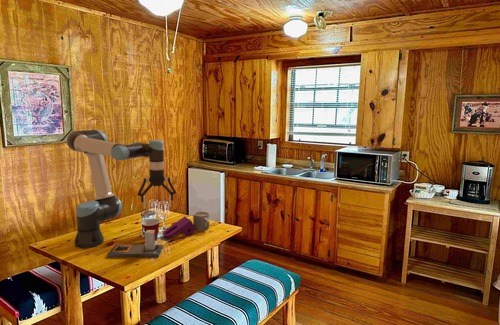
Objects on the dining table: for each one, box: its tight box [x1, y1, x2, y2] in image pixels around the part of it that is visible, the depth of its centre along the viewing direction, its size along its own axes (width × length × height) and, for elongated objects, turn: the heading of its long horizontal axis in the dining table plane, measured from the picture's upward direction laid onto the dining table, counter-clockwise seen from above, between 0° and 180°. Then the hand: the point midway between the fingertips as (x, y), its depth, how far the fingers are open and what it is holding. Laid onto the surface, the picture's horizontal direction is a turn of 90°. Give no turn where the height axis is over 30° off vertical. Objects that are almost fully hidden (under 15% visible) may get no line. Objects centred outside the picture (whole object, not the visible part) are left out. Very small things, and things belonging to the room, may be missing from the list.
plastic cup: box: [141, 217, 161, 242], centre depth 201 cm, size 11×11×12 cm
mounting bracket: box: [162, 216, 195, 240], centre depth 211 cm, size 9×8×18 cm
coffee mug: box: [192, 211, 210, 232], centre depth 221 cm, size 13×10×10 cm
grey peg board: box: [107, 244, 164, 258], centre depth 185 cm, size 26×12×2 cm, turn 93°
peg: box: [144, 230, 156, 252], centre depth 184 cm, size 4×4×12 cm
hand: (157, 207), depth 188 cm, fingers open, 13 cm apart
